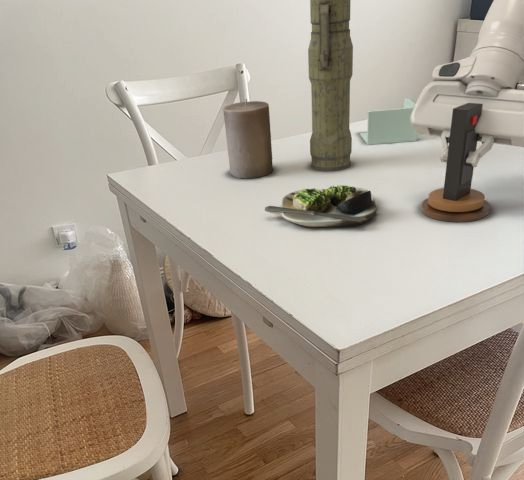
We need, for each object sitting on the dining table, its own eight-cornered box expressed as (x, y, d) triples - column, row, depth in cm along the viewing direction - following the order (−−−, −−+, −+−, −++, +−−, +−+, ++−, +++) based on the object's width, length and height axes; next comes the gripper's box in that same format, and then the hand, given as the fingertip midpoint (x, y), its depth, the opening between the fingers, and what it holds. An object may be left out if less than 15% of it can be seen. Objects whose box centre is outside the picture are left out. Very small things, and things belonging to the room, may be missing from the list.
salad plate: (263, 236, 89) (261, 209, 86) (267, 199, 104) (265, 175, 101) (381, 230, 87) (383, 202, 85) (369, 193, 102) (370, 169, 99)
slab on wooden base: (445, 190, 97) (455, 98, 88) (493, 199, 91) (510, 102, 82) (417, 205, 92) (426, 109, 83) (467, 216, 86) (481, 114, 77)
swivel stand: (486, 199, 95) (487, 193, 94) (492, 222, 86) (493, 216, 86) (421, 198, 98) (421, 193, 97) (420, 221, 89) (421, 215, 88)
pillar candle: (279, 166, 122) (275, 94, 113) (263, 179, 114) (258, 103, 106) (240, 165, 125) (233, 94, 116) (222, 178, 118) (213, 104, 109)
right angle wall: (405, 129, 140) (407, 98, 136) (417, 140, 131) (419, 107, 126) (359, 133, 141) (360, 102, 137) (367, 144, 131) (368, 111, 127)
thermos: (353, 157, 123) (356, -30, 103) (348, 172, 114) (351, -30, 94) (314, 157, 125) (310, -26, 105) (307, 173, 116) (301, -25, 96)
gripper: (559, 98, 84) (526, 182, 84) (433, 88, 94) (404, 162, 94) (559, 74, 78) (523, 163, 79) (425, 66, 89) (394, 145, 89)
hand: (457, 163), depth 87 cm, fingers closed on slab on wooden base, 3 cm apart
